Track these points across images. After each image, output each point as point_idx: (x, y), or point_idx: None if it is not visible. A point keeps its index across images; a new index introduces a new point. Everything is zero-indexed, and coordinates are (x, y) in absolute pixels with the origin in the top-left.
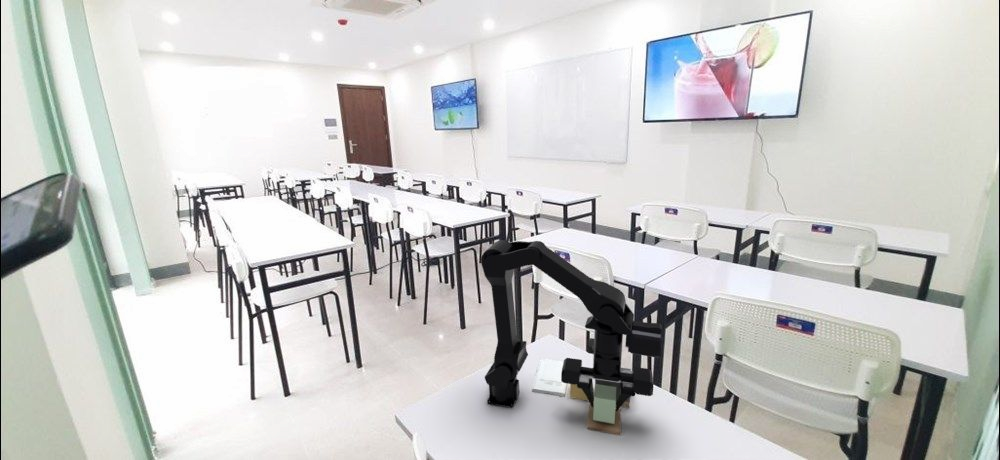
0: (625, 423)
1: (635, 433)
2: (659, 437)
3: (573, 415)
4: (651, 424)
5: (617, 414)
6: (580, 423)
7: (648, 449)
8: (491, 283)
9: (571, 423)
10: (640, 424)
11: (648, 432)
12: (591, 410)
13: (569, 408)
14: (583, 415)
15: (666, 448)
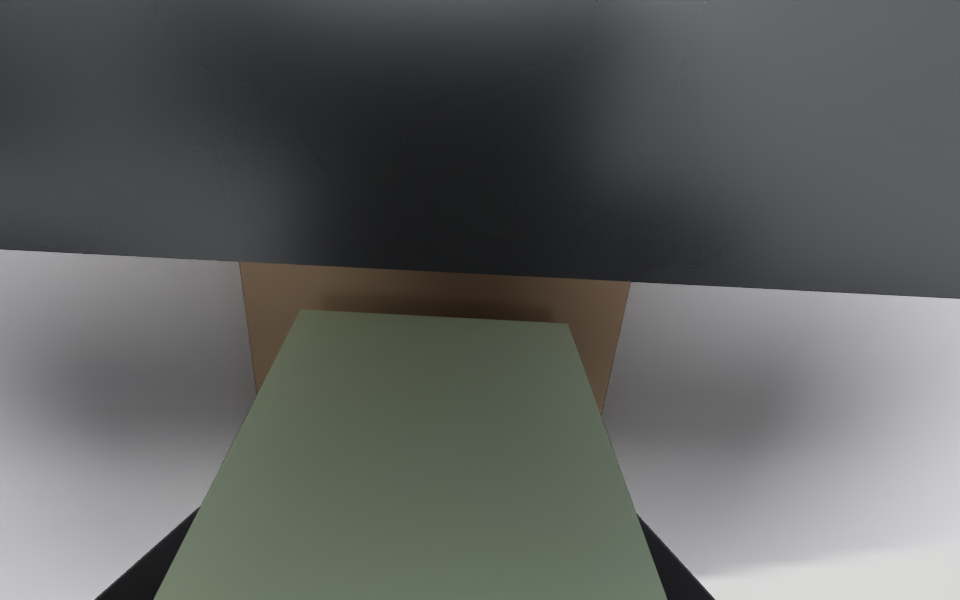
0: (648, 364)
1: (709, 451)
2: (901, 454)
3: (104, 354)
4: (907, 333)
5: (586, 326)
6: (207, 434)
7: (760, 557)
8: None
9: (122, 448)
10: (795, 351)
11: (831, 424)
12: (279, 316)
13: (15, 262)
14: (211, 337)
15: (900, 531)
